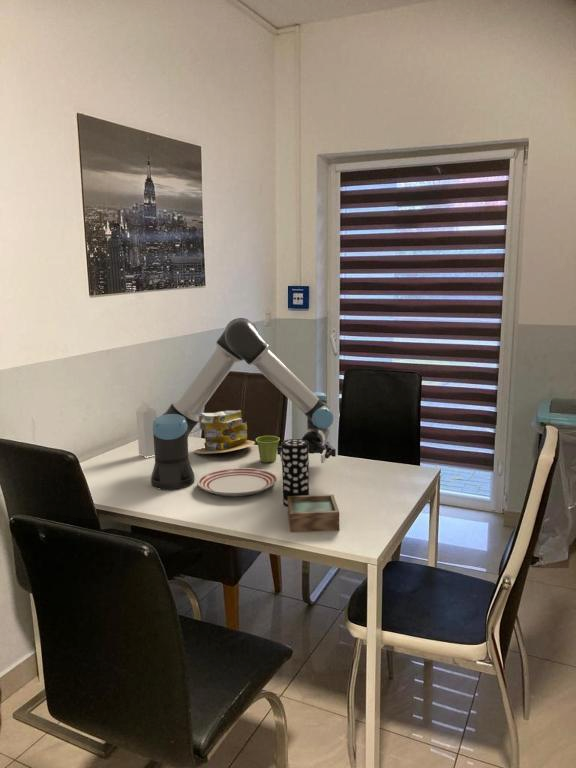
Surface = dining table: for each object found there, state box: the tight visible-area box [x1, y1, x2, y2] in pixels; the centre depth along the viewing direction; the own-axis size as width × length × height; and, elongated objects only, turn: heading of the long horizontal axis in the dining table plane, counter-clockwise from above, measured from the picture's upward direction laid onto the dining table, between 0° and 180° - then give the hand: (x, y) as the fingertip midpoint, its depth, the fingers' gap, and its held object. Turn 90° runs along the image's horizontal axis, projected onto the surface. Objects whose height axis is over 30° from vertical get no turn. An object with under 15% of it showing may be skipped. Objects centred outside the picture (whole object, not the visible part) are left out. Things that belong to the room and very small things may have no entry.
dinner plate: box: [196, 467, 279, 497], centre depth 216 cm, size 28×27×3 cm
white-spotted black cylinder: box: [281, 438, 310, 508], centre depth 199 cm, size 8×8×20 cm
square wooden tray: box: [287, 494, 340, 533], centre depth 185 cm, size 14×14×6 cm
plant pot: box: [255, 435, 281, 463], centre depth 244 cm, size 9×9×9 cm
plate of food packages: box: [194, 409, 256, 455], centre depth 258 cm, size 25×25×17 cm
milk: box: [135, 401, 158, 457], centre depth 253 cm, size 6×6×22 cm
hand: (301, 458), depth 208 cm, fingers open, 13 cm apart
